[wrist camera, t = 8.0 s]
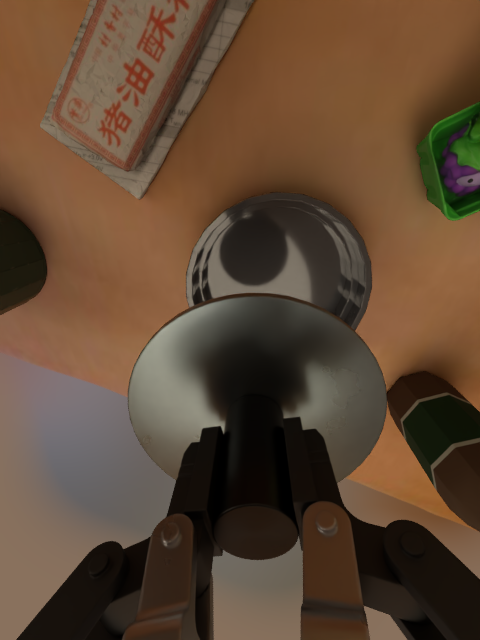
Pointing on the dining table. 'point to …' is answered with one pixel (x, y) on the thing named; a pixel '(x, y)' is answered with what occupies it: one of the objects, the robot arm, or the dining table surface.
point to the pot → (19, 263)
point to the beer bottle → (441, 439)
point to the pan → (283, 255)
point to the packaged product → (138, 81)
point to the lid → (256, 404)
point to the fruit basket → (453, 163)
